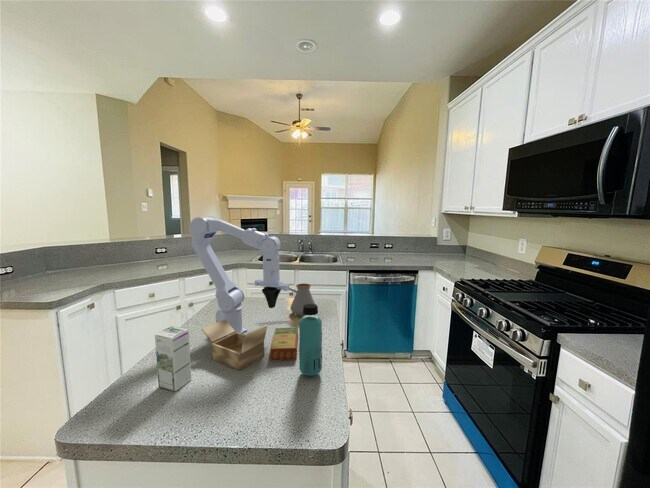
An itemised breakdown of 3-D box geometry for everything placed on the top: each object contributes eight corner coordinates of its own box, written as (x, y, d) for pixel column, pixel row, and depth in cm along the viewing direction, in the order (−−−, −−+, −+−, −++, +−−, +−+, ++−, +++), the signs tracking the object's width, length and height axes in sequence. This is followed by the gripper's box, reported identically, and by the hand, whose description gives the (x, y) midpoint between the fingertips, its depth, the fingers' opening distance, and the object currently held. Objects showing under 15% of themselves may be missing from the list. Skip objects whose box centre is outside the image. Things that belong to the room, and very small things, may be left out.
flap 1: (212, 341, 87) (211, 342, 87) (235, 330, 95) (234, 331, 95) (201, 328, 89) (201, 329, 89) (225, 319, 97) (224, 320, 97)
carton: (269, 361, 87) (269, 348, 86) (275, 338, 103) (274, 327, 102) (297, 360, 88) (297, 347, 87) (298, 337, 103) (298, 326, 103)
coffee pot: (317, 309, 131) (318, 277, 130) (314, 319, 120) (314, 284, 118) (272, 307, 133) (272, 276, 132) (265, 316, 122) (264, 282, 120)
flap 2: (244, 335, 80) (245, 336, 79) (266, 324, 87) (267, 325, 87) (241, 352, 81) (242, 353, 81) (262, 340, 89) (264, 340, 88)
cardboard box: (211, 359, 87) (211, 343, 87) (237, 346, 96) (236, 331, 95) (240, 370, 81) (239, 354, 81) (264, 355, 90) (263, 340, 89)
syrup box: (192, 379, 77) (189, 328, 75) (174, 392, 71) (171, 337, 70) (176, 375, 79) (173, 325, 77) (157, 388, 73) (153, 333, 71)
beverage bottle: (313, 384, 75) (314, 311, 73) (293, 376, 79) (293, 306, 76) (326, 372, 81) (327, 304, 79) (307, 365, 84) (307, 299, 82)
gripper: (248, 270, 102) (249, 306, 104) (280, 274, 95) (280, 314, 97) (261, 266, 108) (262, 301, 110) (292, 271, 101) (293, 308, 103)
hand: (272, 307), depth 104 cm, fingers closed
